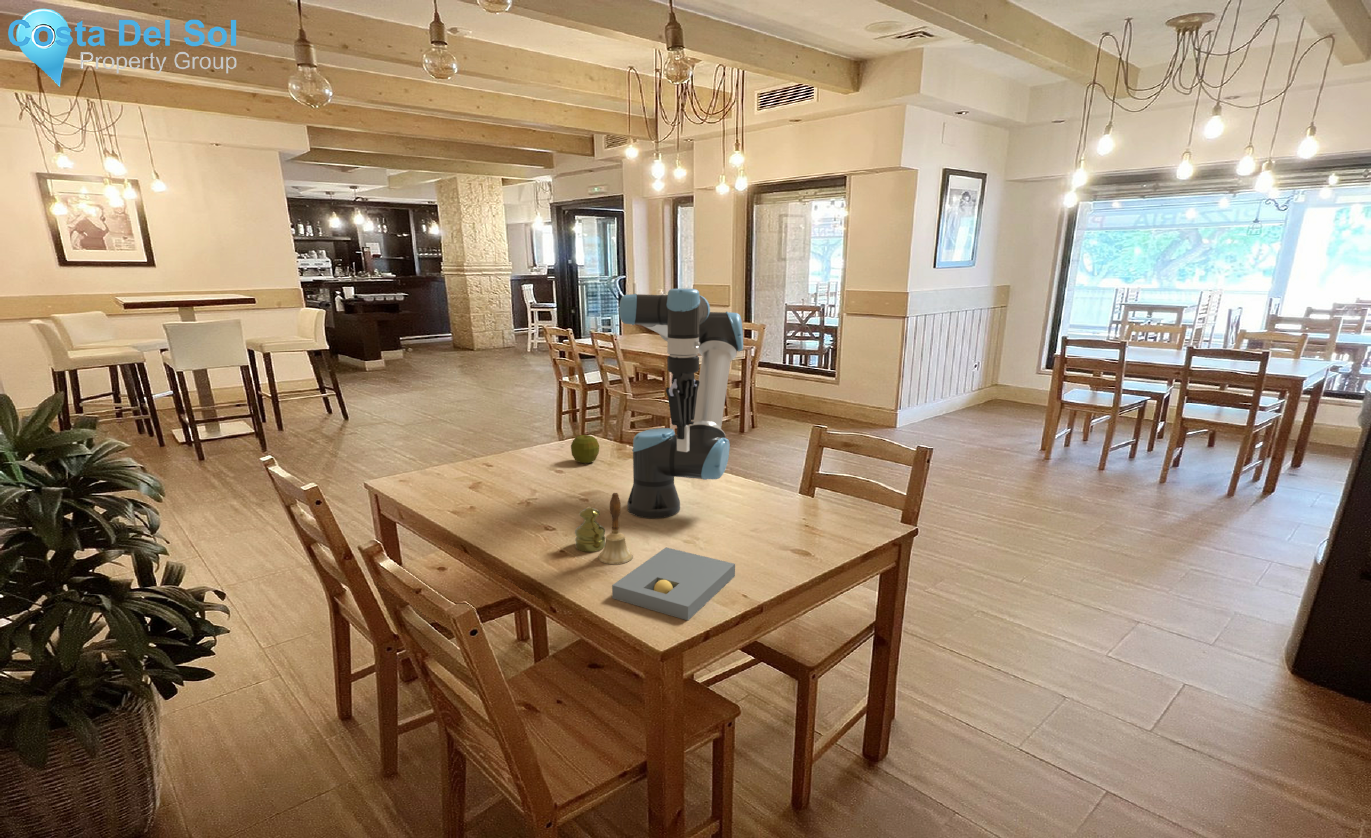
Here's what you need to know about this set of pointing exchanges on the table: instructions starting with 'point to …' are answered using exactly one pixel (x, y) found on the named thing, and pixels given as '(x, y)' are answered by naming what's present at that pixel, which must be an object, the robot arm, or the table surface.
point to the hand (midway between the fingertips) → (683, 450)
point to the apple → (585, 448)
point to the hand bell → (615, 538)
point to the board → (674, 582)
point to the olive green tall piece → (590, 532)
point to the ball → (663, 586)
